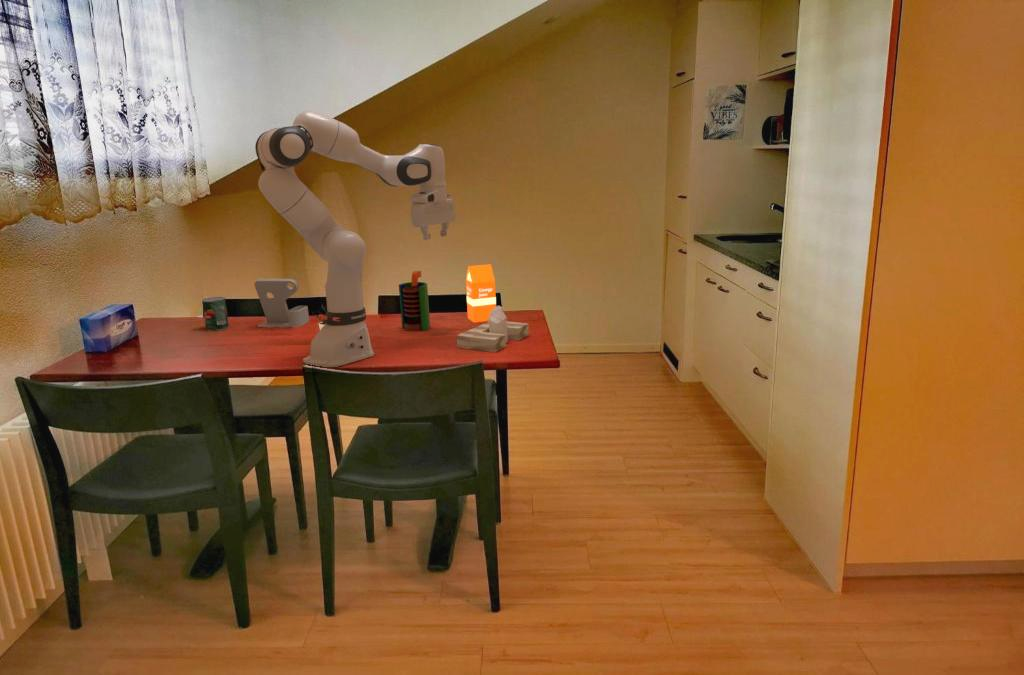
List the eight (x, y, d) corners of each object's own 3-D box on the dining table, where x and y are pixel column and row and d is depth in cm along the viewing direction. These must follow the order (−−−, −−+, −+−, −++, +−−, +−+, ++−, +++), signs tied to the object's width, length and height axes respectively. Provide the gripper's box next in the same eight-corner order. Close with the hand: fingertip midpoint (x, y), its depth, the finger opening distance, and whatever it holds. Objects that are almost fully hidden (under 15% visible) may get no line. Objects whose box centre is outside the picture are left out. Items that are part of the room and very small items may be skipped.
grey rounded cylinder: (487, 308, 232) (488, 304, 238) (488, 344, 235) (490, 339, 241) (505, 307, 232) (507, 303, 237) (507, 344, 235) (508, 339, 240)
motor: (397, 330, 257) (393, 274, 252) (409, 324, 265) (405, 269, 260) (424, 331, 254) (420, 274, 249) (434, 325, 262) (431, 270, 257)
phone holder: (312, 321, 274) (307, 274, 269) (299, 328, 264) (294, 279, 260) (270, 321, 277) (264, 274, 273) (256, 327, 268) (249, 279, 263)
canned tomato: (201, 330, 266) (197, 301, 263) (214, 325, 273) (210, 296, 270) (220, 331, 264) (216, 301, 261) (233, 326, 271) (229, 297, 269)
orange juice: (467, 318, 271) (464, 264, 266) (489, 315, 274) (487, 262, 269) (473, 322, 264) (471, 267, 259) (496, 320, 267) (494, 265, 262)
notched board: (495, 352, 226) (494, 339, 225) (457, 347, 233) (456, 335, 232) (528, 335, 244) (528, 323, 243) (492, 331, 251) (492, 320, 250)
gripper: (443, 192, 247) (445, 234, 250) (406, 197, 230) (409, 241, 233) (459, 193, 244) (461, 234, 247) (422, 197, 227) (425, 242, 230)
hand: (435, 238), depth 240 cm, fingers open, 8 cm apart
